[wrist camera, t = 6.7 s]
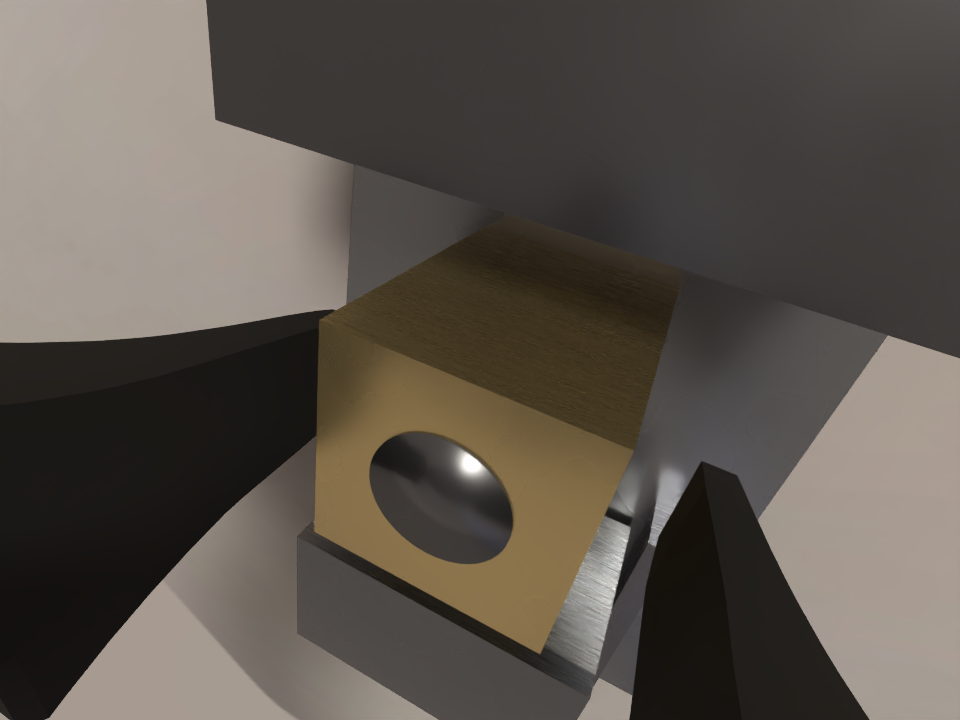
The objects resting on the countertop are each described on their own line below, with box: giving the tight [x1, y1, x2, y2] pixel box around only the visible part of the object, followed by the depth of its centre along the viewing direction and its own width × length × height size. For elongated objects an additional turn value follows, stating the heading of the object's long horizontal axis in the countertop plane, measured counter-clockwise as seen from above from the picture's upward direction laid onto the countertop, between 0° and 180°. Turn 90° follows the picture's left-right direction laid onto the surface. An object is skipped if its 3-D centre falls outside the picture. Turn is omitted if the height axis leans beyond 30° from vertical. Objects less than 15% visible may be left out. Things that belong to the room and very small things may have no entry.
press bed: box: [206, 0, 960, 696], centre depth 12 cm, size 20×12×6 cm, turn 168°
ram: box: [297, 516, 631, 720], centre depth 14 cm, size 4×7×5 cm, turn 78°
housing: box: [314, 226, 680, 654], centre depth 10 cm, size 4×4×6 cm
